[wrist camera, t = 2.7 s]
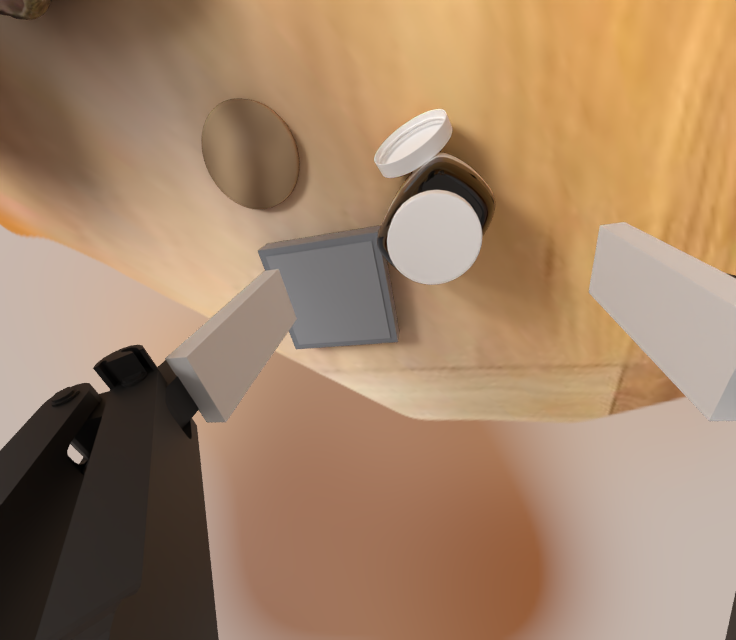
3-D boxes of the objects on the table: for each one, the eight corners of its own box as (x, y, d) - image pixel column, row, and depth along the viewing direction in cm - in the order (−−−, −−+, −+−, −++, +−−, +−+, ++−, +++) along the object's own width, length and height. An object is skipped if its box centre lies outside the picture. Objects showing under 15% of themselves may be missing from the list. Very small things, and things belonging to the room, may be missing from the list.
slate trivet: (302, 338, 45) (295, 349, 42) (267, 243, 38) (256, 251, 35) (399, 330, 41) (397, 342, 39) (380, 225, 34) (377, 232, 32)
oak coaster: (231, 214, 36) (227, 216, 36) (190, 113, 31) (183, 112, 31) (311, 198, 34) (308, 200, 33) (280, 87, 29) (275, 85, 28)
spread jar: (429, 264, 36) (430, 316, 26) (347, 205, 34) (314, 238, 24) (511, 168, 30) (552, 190, 20) (415, 88, 28) (409, 70, 18)
